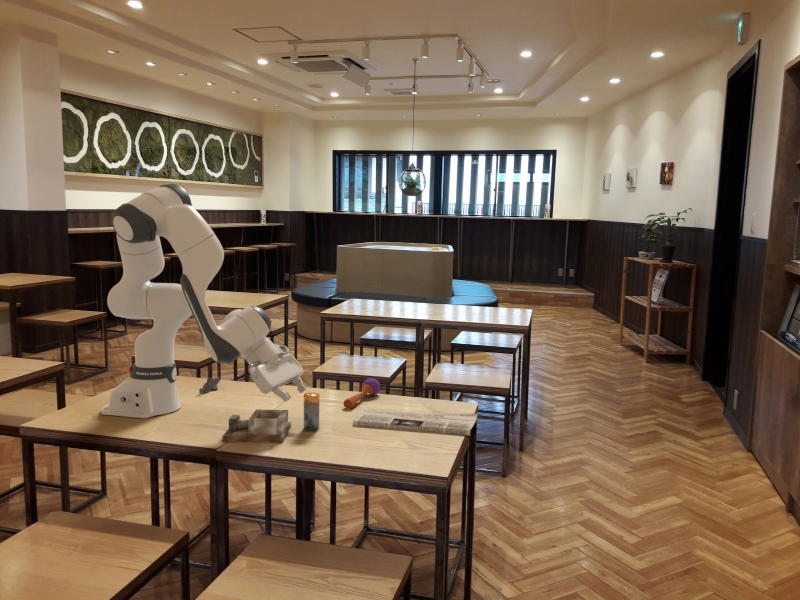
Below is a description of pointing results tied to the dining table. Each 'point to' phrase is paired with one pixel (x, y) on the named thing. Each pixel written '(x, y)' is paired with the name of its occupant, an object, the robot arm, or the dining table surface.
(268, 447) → the dining table surface
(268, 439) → the shaft base
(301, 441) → the dining table surface
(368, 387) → the kendama
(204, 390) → the animal figurine
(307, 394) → the orange topped cylinder
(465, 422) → the newspaper
